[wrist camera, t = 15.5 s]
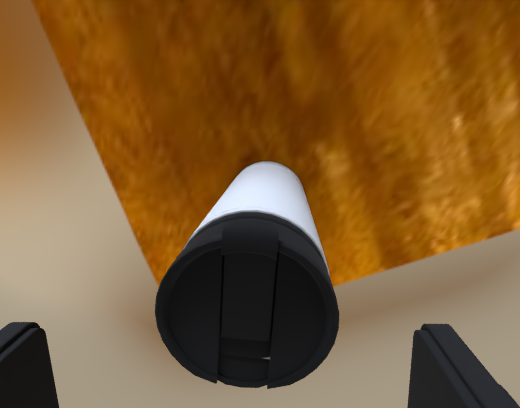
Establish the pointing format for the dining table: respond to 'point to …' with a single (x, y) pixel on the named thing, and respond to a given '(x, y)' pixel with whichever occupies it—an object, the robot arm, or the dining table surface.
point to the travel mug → (251, 287)
